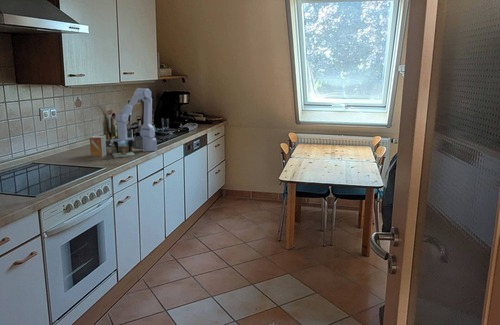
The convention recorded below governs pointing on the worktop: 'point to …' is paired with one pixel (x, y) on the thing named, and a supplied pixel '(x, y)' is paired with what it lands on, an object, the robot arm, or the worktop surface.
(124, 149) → the mint green slab
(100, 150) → the small box
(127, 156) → the mat
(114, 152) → the open brown box
